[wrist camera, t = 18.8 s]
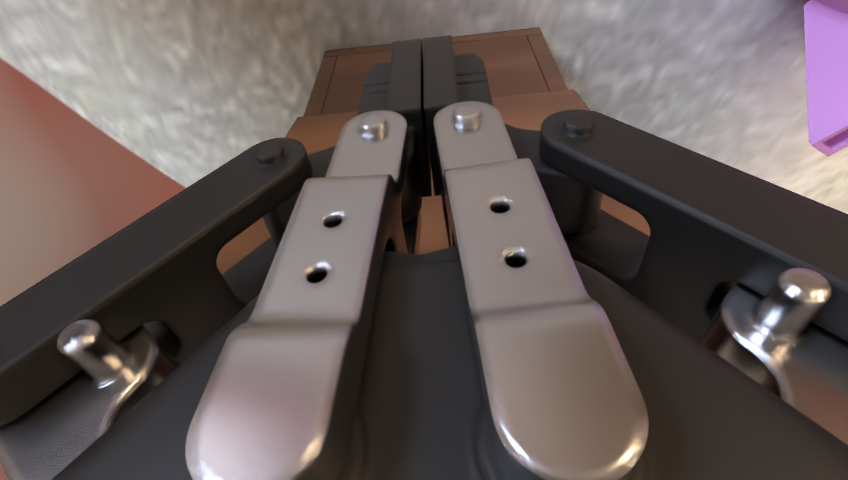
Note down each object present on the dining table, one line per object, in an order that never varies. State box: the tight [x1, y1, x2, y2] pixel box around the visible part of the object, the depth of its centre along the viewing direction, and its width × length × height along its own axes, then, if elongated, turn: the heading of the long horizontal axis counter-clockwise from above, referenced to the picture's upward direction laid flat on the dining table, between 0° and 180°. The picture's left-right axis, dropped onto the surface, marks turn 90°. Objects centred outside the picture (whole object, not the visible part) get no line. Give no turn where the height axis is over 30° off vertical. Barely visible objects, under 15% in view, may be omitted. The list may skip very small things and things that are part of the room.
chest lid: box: [216, 90, 650, 274], centre depth 15 cm, size 16×13×1 cm
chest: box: [303, 28, 568, 117], centre depth 30 cm, size 15×13×8 cm
